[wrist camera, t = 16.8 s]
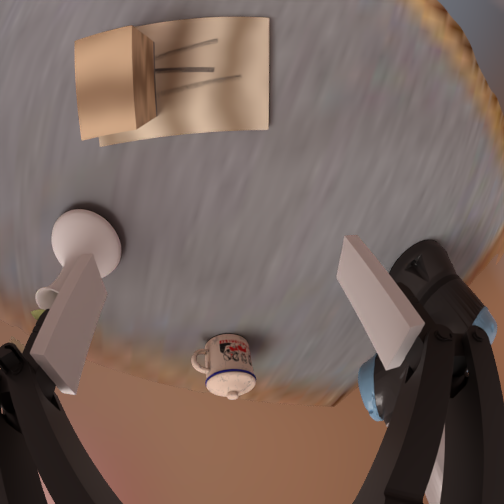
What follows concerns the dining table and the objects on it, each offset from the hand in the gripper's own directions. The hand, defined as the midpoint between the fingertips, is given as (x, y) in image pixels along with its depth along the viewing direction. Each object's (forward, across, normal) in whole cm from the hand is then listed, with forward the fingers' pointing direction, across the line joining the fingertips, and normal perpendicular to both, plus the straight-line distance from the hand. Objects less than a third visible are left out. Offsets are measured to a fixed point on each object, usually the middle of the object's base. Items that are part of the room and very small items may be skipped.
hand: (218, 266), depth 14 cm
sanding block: (+20, +9, -11) cm, 25 cm away
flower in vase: (+22, +20, +10) cm, 32 cm away
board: (+22, +4, -11) cm, 25 cm away
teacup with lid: (+24, +2, +35) cm, 42 cm away
